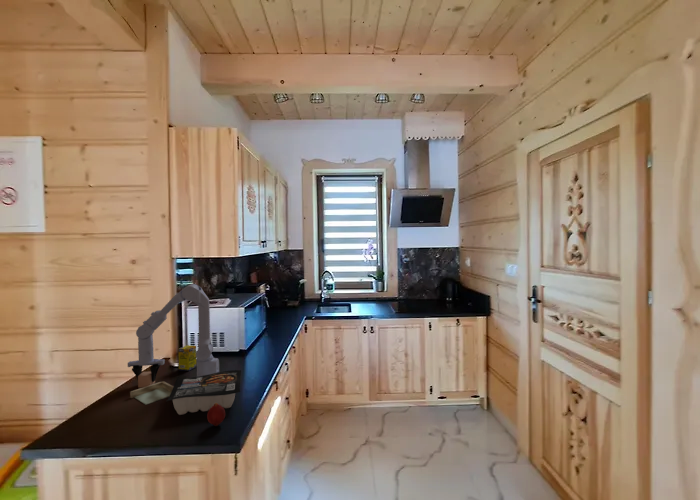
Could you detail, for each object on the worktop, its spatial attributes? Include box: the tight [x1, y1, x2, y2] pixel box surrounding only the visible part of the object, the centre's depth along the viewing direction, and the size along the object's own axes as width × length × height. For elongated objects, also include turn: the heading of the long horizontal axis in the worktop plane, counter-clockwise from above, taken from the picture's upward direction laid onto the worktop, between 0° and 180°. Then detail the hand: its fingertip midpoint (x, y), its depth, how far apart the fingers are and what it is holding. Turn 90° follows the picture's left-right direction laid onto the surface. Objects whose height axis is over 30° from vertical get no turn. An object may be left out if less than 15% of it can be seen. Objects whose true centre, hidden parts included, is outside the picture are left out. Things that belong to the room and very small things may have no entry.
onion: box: [206, 403, 226, 427], centre depth 117 cm, size 6×6×8 cm
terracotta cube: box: [137, 370, 156, 389], centre depth 152 cm, size 5×5×5 cm
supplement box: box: [177, 344, 197, 372], centre depth 170 cm, size 6×6×11 cm
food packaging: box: [165, 369, 242, 416], centre depth 136 cm, size 25×8×23 cm
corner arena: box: [129, 380, 174, 406], centre depth 141 cm, size 13×13×2 cm
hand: (146, 381), depth 152 cm, fingers closed on terracotta cube, 5 cm apart
